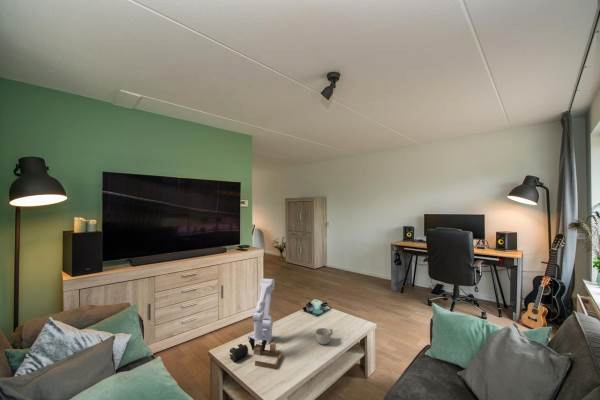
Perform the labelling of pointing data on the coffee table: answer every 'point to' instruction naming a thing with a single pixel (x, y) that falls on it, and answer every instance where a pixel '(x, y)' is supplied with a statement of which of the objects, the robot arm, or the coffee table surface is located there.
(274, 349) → the tan rounded capsule
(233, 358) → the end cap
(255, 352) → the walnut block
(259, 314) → the robot arm
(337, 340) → the coffee table surface
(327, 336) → the teacup
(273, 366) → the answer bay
